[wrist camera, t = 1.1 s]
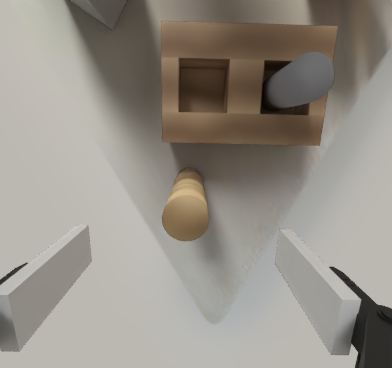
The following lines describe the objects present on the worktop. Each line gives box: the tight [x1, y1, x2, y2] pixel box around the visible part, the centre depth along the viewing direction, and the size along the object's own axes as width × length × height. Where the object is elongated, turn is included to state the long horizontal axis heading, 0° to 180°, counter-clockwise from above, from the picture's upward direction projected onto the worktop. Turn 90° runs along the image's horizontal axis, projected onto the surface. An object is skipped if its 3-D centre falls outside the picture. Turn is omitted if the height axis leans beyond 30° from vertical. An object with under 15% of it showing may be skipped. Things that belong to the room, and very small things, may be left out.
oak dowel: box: [162, 169, 209, 241], centre depth 25 cm, size 4×4×14 cm
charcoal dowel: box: [261, 52, 334, 111], centre depth 23 cm, size 4×4×9 cm
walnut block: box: [161, 21, 338, 146], centre depth 27 cm, size 12×18×6 cm, turn 89°
